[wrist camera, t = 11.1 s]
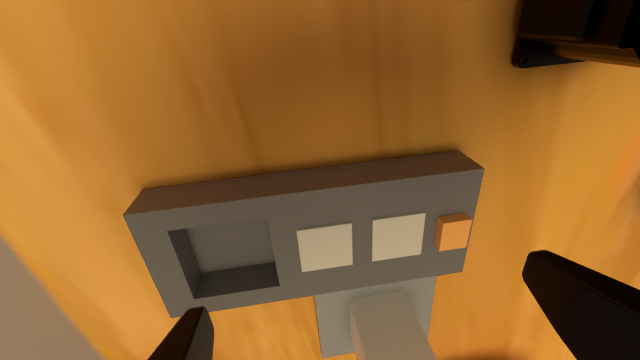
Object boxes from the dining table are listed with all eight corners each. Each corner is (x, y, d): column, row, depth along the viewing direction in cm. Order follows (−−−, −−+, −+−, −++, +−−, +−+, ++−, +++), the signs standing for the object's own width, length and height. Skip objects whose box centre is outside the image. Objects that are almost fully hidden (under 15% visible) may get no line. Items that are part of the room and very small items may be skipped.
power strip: (455, 147, 22) (492, 174, 18) (440, 242, 26) (468, 279, 23) (145, 185, 20) (116, 223, 16) (183, 280, 25) (167, 328, 21)
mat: (435, 254, 26) (438, 259, 26) (424, 333, 32) (427, 339, 31) (311, 274, 25) (312, 280, 25) (321, 352, 31) (322, 358, 30)
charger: (403, 290, 27) (441, 369, 21) (400, 326, 29) (433, 407, 23) (349, 299, 27) (371, 382, 20) (350, 335, 29) (371, 419, 23)
